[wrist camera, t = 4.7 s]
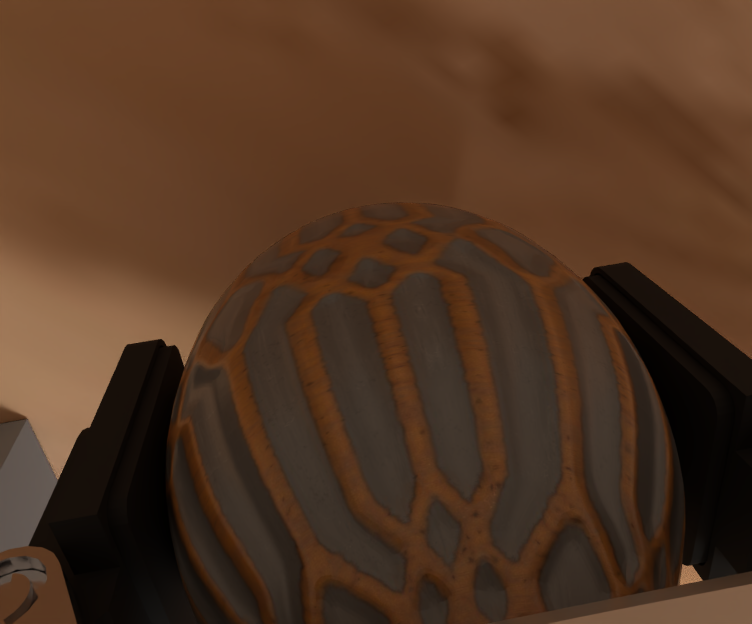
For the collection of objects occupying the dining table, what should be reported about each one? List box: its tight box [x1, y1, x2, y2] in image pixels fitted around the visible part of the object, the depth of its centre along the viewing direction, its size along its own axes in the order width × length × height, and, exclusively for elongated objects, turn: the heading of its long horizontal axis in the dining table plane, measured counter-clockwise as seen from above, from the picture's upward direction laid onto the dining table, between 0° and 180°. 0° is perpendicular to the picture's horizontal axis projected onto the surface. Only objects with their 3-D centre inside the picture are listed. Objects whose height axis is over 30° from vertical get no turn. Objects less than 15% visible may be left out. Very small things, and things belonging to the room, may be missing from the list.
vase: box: [165, 203, 685, 624], centre depth 9 cm, size 7×7×9 cm
